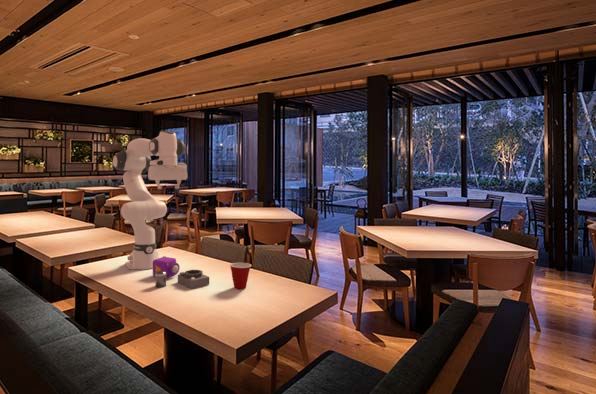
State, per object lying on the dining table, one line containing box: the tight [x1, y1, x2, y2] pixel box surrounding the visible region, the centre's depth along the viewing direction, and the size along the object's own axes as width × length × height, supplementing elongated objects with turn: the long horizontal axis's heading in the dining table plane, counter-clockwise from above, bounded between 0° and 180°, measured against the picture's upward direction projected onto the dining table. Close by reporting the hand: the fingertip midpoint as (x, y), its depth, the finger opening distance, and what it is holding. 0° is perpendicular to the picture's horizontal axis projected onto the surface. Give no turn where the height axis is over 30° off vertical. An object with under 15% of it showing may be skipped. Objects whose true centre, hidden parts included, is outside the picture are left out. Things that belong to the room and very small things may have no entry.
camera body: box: [177, 269, 210, 290], centre depth 190 cm, size 14×10×6 cm
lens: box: [154, 271, 167, 289], centre depth 185 cm, size 5×5×7 cm
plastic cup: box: [229, 262, 252, 290], centre depth 184 cm, size 11×11×12 cm
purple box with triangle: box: [152, 255, 181, 279], centre depth 202 cm, size 11×14×10 cm
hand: (168, 188), depth 194 cm, fingers open, 8 cm apart
